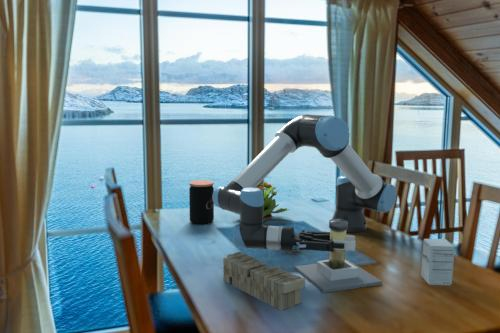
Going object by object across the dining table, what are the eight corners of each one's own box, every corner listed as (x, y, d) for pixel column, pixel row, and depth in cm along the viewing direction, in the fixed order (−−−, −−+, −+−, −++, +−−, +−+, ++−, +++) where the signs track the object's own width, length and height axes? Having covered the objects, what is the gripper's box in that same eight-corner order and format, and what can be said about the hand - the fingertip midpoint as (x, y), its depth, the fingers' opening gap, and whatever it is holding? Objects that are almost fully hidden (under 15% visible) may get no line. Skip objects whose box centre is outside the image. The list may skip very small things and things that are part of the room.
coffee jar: (209, 226, 209) (209, 185, 207) (186, 224, 212) (185, 184, 209) (216, 219, 220) (216, 180, 217) (194, 218, 222) (193, 179, 219)
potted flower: (294, 214, 230) (295, 178, 227) (281, 227, 208) (282, 187, 205) (245, 209, 238) (245, 174, 236) (227, 222, 216) (227, 183, 213)
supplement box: (420, 276, 156) (423, 238, 154) (443, 276, 156) (446, 238, 153) (427, 285, 148) (430, 245, 146) (452, 285, 148) (455, 246, 146)
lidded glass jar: (339, 265, 158) (341, 218, 155) (349, 272, 152) (351, 222, 150) (324, 267, 156) (325, 219, 153) (333, 274, 151) (335, 224, 148)
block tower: (220, 282, 152) (284, 313, 129) (220, 256, 151) (284, 283, 128) (240, 276, 157) (305, 305, 134) (240, 251, 155) (305, 276, 133)
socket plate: (347, 262, 167) (347, 251, 167) (381, 284, 149) (382, 271, 148) (294, 269, 160) (295, 257, 160) (323, 293, 142) (324, 280, 141)
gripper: (283, 240, 165) (353, 245, 161) (277, 259, 148) (355, 264, 144) (284, 219, 164) (354, 223, 160) (278, 235, 146) (356, 240, 142)
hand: (354, 243), depth 152 cm, fingers open, 5 cm apart
